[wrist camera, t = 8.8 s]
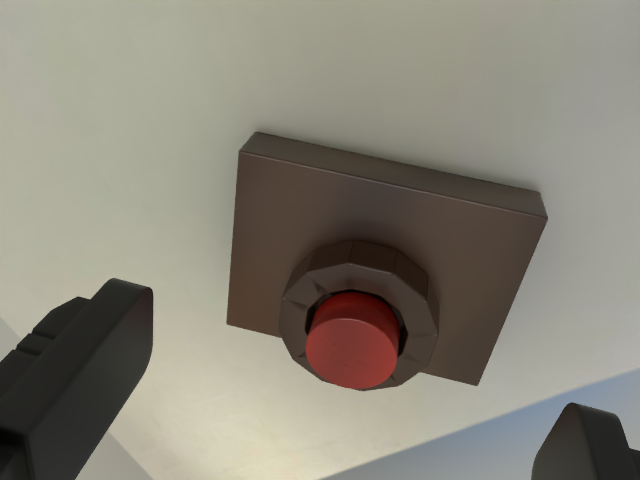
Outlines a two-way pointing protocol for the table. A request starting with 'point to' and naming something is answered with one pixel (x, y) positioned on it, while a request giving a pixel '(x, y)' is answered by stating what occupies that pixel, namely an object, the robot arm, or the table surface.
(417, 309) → the block
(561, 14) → the table surface
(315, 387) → the table surface
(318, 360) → the button
